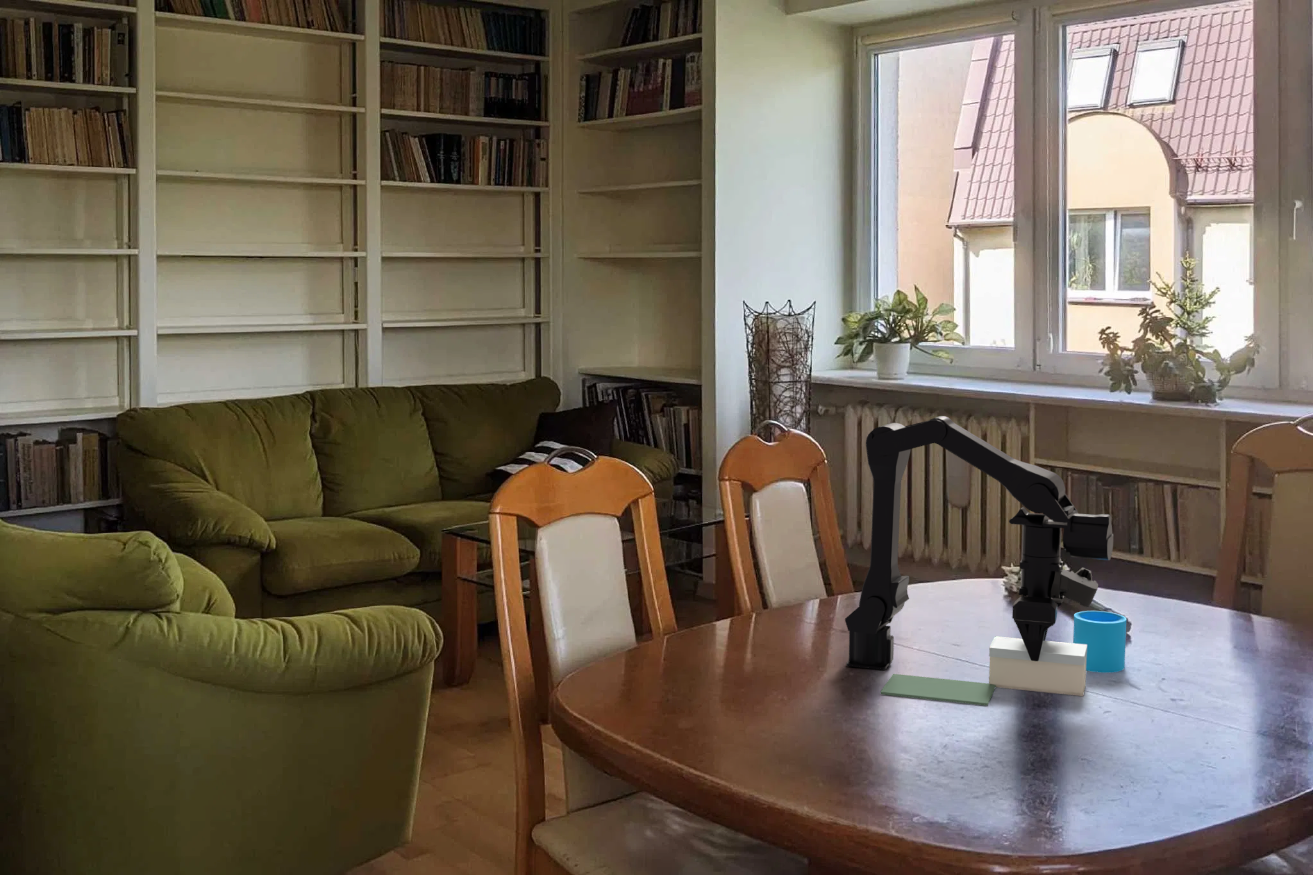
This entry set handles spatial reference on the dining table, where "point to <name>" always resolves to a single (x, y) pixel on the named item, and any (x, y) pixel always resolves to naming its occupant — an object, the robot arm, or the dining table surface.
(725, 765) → the dining table surface
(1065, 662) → the lid
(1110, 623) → the mug
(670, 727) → the dining table surface
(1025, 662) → the pencil box
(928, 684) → the felt mat
